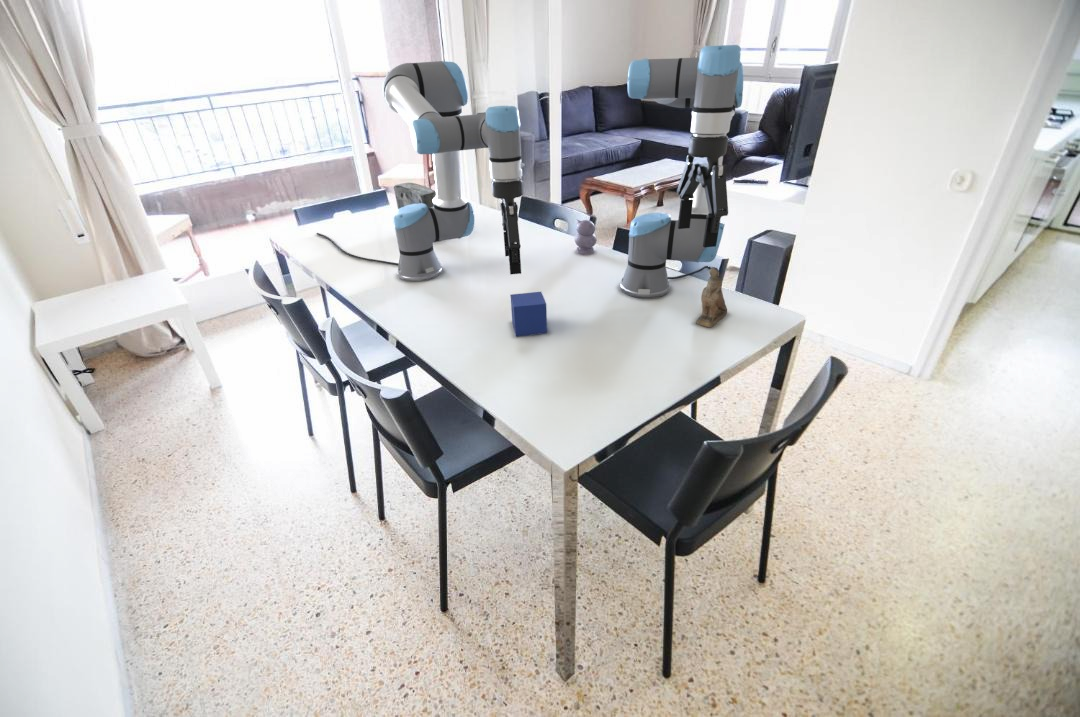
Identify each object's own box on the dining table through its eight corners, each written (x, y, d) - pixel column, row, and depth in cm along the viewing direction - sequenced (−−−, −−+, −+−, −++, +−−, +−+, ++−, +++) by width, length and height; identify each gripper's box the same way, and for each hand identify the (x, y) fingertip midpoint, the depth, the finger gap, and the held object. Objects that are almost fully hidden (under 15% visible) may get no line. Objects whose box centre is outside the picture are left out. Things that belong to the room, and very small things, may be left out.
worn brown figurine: (709, 335, 136) (713, 280, 124) (691, 329, 139) (693, 274, 128) (730, 313, 142) (736, 258, 130) (712, 307, 145) (716, 253, 133)
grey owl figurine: (600, 251, 189) (601, 219, 183) (587, 257, 184) (588, 225, 178) (583, 246, 194) (583, 216, 188) (570, 252, 190) (570, 220, 183)
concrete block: (446, 240, 206) (439, 191, 196) (426, 245, 202) (419, 195, 192) (419, 226, 225) (412, 180, 215) (401, 230, 221) (392, 184, 210)
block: (515, 336, 135) (513, 306, 130) (512, 323, 141) (510, 294, 137) (547, 333, 136) (546, 303, 131) (542, 320, 142) (541, 291, 138)
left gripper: (529, 189, 108) (533, 280, 119) (516, 168, 129) (521, 247, 140) (494, 191, 107) (502, 283, 118) (488, 170, 128) (495, 250, 139)
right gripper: (759, 142, 91) (738, 253, 102) (700, 126, 112) (688, 220, 123) (720, 144, 90) (704, 256, 101) (668, 128, 111) (659, 222, 122)
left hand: (512, 264), depth 129 cm, fingers open, 13 cm apart
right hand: (695, 237), depth 112 cm, fingers open, 13 cm apart
